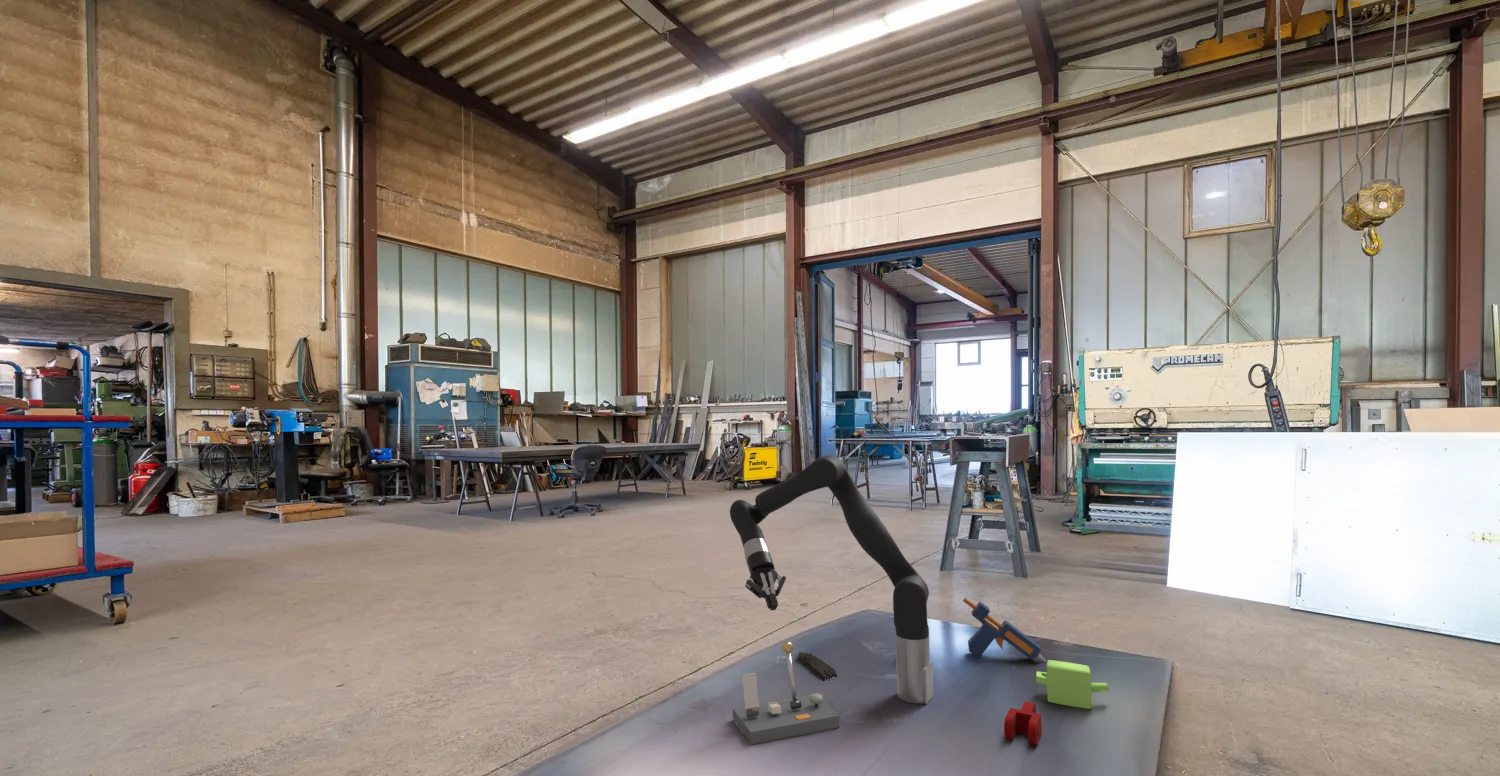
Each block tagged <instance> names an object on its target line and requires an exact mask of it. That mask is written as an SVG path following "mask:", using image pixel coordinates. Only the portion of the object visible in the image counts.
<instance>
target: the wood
mask: <svg viewBox="0 0 1500 776" xmlns="http://www.w3.org/2000/svg"><path fill="white" fill-rule="evenodd" d="M797 656H798V657H799V659H800V661H801V662H802V663H803V664H804V666H805V667H807V666H808V667H809V668H808V667H807V668H808V669H810V670H811V671H812V672H813V673H814V672H815V673H814V674H815V675H817V676H818V675H819V676H820V677H821V678H822V679H824V680H825V679H826V680H827V679H830V678H832V677H833V676H834V677H836V678H837V677H838V674H837V672H836V669H835V668H834V667H832V666H831V665H829V664H828V663H827V662H825V661H823V660H822V659H821V658H818V657H817V655H813V654H812V653H809V652H802V651H799V652H798V654H797ZM819 676H818V677H819ZM820 677H819V678H820ZM821 678H820V679H821ZM822 679H821V680H822ZM832 679H833V678H832ZM824 680H823V681H824Z"/></svg>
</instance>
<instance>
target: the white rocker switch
mask: <svg viewBox="0 0 1500 776" xmlns="http://www.w3.org/2000/svg"><path fill="white" fill-rule="evenodd" d="M767 708H768V711H769V712H770V713H772V714H777V713H781V706H780V705H779V704H777V702H773V701H770V703H768V704H767Z"/></svg>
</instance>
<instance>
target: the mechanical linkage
mask: <svg viewBox="0 0 1500 776" xmlns="http://www.w3.org/2000/svg"><path fill="white" fill-rule="evenodd" d="M1003 729H1004V730H1003V733H1004V737H1005V739H1008V740H1015V738H1016V735H1017V734H1018V733H1020V734H1024V735H1027V740H1028V741H1027V742H1028V744H1030V745H1034V746H1038V745H1039V743H1040V741H1041V740H1040V739H1041V737H1042V734H1043V733H1042V731H1043V728H1042V713H1037V705H1036V703H1034V702H1030V701H1025V700H1024V702H1023V704H1022V706H1021V708H1020V709H1018V708H1014V707H1010V708H1009V710H1008V711H1007V713H1006V715H1005V718H1004V725H1003Z"/></svg>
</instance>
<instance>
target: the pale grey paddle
mask: <svg viewBox="0 0 1500 776" xmlns="http://www.w3.org/2000/svg"><path fill="white" fill-rule="evenodd" d="M741 680H742V690H743V691H742V692H743V702H744V706H745V709H746V715H747V717H753V716H758V715H759V709H758V707H759V704H760V702H759V692H758V691H759V690H758V682H757V681H758V679H757V673H756V672H751V673H744V674H741Z"/></svg>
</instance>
